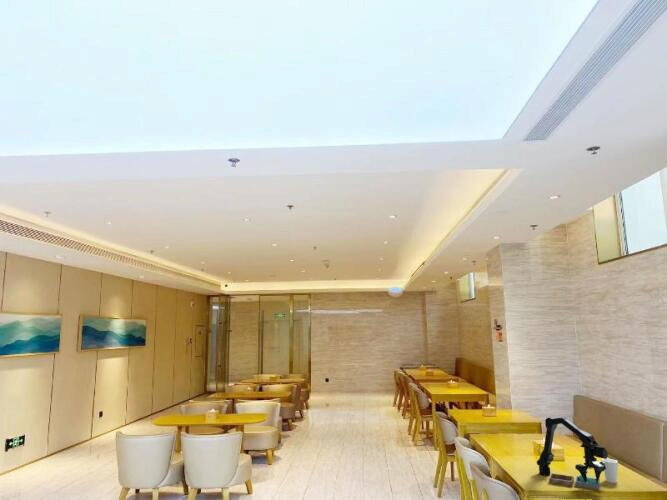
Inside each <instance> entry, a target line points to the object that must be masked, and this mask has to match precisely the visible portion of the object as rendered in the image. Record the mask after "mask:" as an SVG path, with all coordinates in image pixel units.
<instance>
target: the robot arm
mask: <svg viewBox="0 0 667 500" xmlns="http://www.w3.org/2000/svg"><path fill="white" fill-rule="evenodd" d="M544 424H545V428H546V432H545V439H544V446H543V450H542V451H541V453H540V456H539V459H538V460H537V461H536V465H537V466H538V475H539V474H541V476H546V475H547V477H549V476H551V467H550V465H551V464H552V462H553V461H554V457H555V454H553V452H552V448H553V442H554V437H555V431H556V429H557V427H558V426H559V425H560V424H561V425H563V426H564V427H566V428H567V429H568V430H569V431H571V432H572V434H574V435H576V437H577V438H578V439H579V441H581V442H582V444H581V445H580V446H579V447H580V448H583V453H584V454H583V455H584V456H582V457H583V459H584V463H583V464H581V463H579V464H575V466H574V467H575V470H576V471H578V472H579V474H580V475H582V477H583V479H584V481H585V482H587V478H588V476H587V474H588V471H587V470H591V469H593V470H594V476H595V479H597V481H599V479H600V477H601V474H602V472H604V470H605V469H606V466H605V464H604V462H601V461H598V460H597V458H599V459H608V456H609V453H608V450H607V449H606V447H605V446H600V445H599V444H598V442H597V440H596V439H595V437H594V435H592V434H591V433H589V432H587V431H585V430H582V429H580V428H579V427H578V426H577V425H575V424H574V423H573V422H571V421H570V420H569V419H568V418H567V417H564V416H563V417H555V416H550V417H546V418H545V422H544Z"/></svg>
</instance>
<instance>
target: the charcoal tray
mask: <svg viewBox="0 0 667 500" xmlns="http://www.w3.org/2000/svg"><path fill="white" fill-rule="evenodd" d="M579 476H580V475H576V477H575V480H574V482H575V487H577V488H582V489H583V488H584V489H589V490H595V491H596V490H598V491H600V490H601V489H600V488H601V482H600V481H601V480H600V478H599V481H597V479H596V478H594V479H595V480H596V484H590V483H588V482H586V483H584V482H581V481H580V479H579Z"/></svg>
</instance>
